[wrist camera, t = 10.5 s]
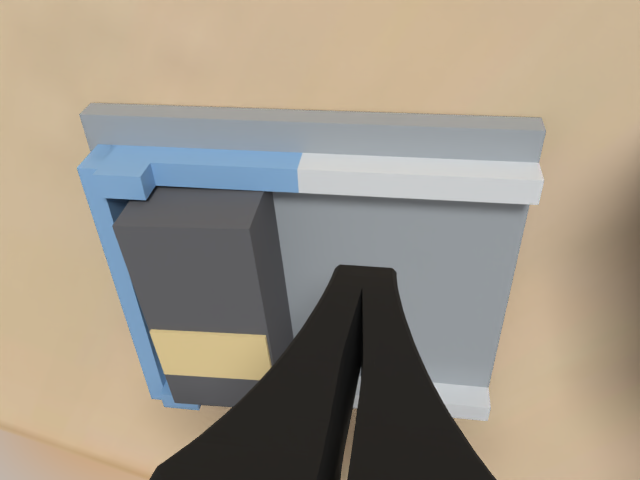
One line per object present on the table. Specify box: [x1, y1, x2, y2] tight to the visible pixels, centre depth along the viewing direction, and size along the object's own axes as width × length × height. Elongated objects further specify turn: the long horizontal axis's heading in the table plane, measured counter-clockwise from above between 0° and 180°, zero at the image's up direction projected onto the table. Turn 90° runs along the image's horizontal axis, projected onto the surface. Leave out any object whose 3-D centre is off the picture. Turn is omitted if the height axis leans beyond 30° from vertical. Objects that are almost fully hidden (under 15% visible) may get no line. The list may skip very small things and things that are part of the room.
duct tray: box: [77, 103, 546, 421], centre depth 26 cm, size 17×16×3 cm
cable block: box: [112, 186, 294, 407], centre depth 25 cm, size 5×10×4 cm, turn 4°
